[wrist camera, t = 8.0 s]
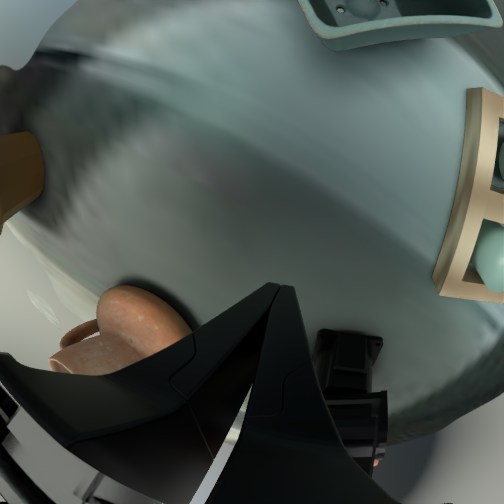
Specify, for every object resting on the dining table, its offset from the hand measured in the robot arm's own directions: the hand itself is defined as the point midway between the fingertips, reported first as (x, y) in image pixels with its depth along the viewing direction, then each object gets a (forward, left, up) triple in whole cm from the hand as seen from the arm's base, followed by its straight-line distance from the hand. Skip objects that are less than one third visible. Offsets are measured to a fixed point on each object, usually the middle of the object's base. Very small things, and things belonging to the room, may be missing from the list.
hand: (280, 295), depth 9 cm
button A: (-2, -15, -12) cm, 19 cm away
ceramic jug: (-18, +18, -12) cm, 28 cm away
